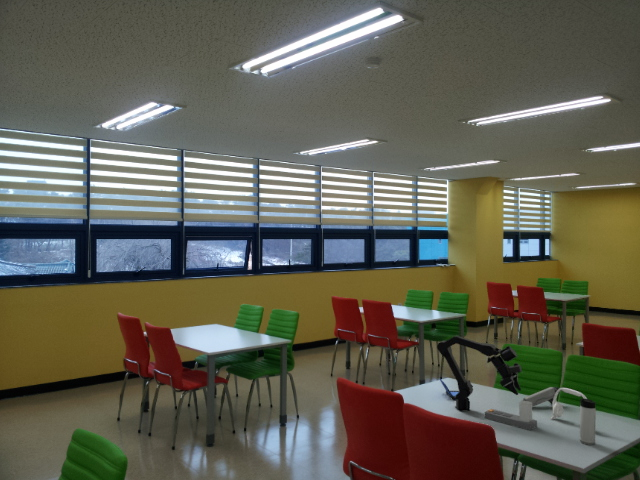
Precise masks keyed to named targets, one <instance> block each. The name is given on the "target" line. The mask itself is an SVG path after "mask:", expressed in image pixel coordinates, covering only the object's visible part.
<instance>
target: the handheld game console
mask: <svg viewBox="0 0 640 480" xmlns="http://www.w3.org/2000/svg"><path fill="white" fill-rule="evenodd" d="M439 381H440V383H441V385H442V387H443V389H444V390H445V394H447V396H449V398H450V399H451V401H452V400H453V401H456V396H455V395H456V394H458V393H459V390H450V389H449V387H448V386H447V384H446V382H444V380H442V379H441V378H439Z"/></svg>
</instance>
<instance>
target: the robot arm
mask: <svg viewBox="0 0 640 480" xmlns="http://www.w3.org/2000/svg"><path fill="white" fill-rule="evenodd" d="M456 344H457V345H461V346H462V347H465V348H469V349H472V350H476V351H478V352H479V353H480V354H482V355H484V356H486V357H487V362H486V363H487V364H489V363H490V362H491V363H492V365H493V366H494V368H495V370H496V372H497V374H499V375H500V377H501V380H500V381H499V384H500V385H501V387H503V388H505V389H506V390H508V391H510V392H511V393H513V394H514V395H515V396H518V395H519V392H520V391H522V388H521V386H520V384H519V383H520V382H519V380H518V377H519V374H520V373H522V366H521V364H519V363H518V362H514V364H513V365H511V366H510V364H507V362H511V361H512V360H514V359H515V358H517V357H518V354H517V352H516V350H515V349H513V348H512V347H511V346H510V345H507V346H506V347H505V348H503V349H501V348H499V347H496V346H495V344H492V343H487V342H486V343H485V342H478V341H475V340H471V339H468V338H465V337H462V336H460V335H458V334H457V335H454V336H453V337H451V338H450V339H448V340H442V341H439V342H438V343H437V346H436V349H437V351H438V352H439V353H440V355H441V356H442V357H443V358H444V359H445V360H446V363H447V365H448V366H449V368H450V371H451V372H452V374H453V376H454V378H455V380H456V382H457V388H458V391H459V393H458V394H456V395H455V396H456V400H455V401H456V402H455V406H454V408H455V409H456V411H458V412H470V411H471V401H470V398H469V397H470V396H471V395H472V394H473V391H474V388H473V387H474V385H472V383H471V380H470V379H468V380H467V379H466V378H465V376H464V375H463V372H462V371H461V369H460V367H459V365H458V363H457V361H456V359H455V357H454V355H453V349H452V346H454V345H456ZM517 390H518V391H519V392H518V391H517Z"/></svg>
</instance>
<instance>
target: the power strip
mask: <svg viewBox="0 0 640 480" xmlns="http://www.w3.org/2000/svg"><path fill="white" fill-rule="evenodd" d="M484 419H487V420H491V421H494V422H499V423H502V424H506V425H509V426H512V427H515V428H516V427H517V428H521V429H524V430H527V431H528V430H529V431H531V430H532V431H533V429H536V428H537V426H538V419H537V420H536V419H533V418H532V421H530V422H525V421H521V420H519V414H514V413H510V412H505V411H502V410H497V409H494V408H489V409H488V410H486V411H484Z"/></svg>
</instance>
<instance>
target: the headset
mask: <svg viewBox="0 0 640 480" xmlns="http://www.w3.org/2000/svg"><path fill="white" fill-rule="evenodd" d="M561 391H562V392H563V393H567V394H570V395H574V396H576V397H582V398H583V399H588V398H587V396H586V395H585V394H583V393H582V392H581V391H577V390H575V389H571V388H567V387H559V389H558V390H557V391H556V393H555V396H554V398H553V402H552V404H551V405H552V416H551V417H550V421H551V420H552V421H553V420H555V419H556V418H561V417H562V416H563V414H564V406H563V404H562V403H560V402H558V401H557V397H558V396H559V395H558V393H559V394H560V392H561ZM557 395H558V396H557Z"/></svg>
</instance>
